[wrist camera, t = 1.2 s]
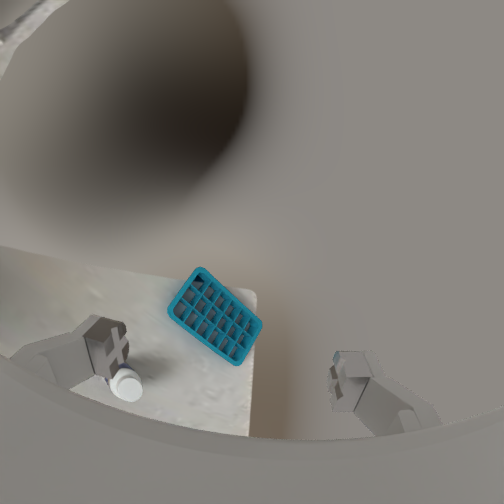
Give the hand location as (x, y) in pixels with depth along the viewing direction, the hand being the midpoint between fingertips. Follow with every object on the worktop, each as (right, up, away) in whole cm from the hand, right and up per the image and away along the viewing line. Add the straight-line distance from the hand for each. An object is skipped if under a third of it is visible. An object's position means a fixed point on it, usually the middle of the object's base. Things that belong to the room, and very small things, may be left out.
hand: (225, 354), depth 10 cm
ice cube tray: (-7, -10, +47) cm, 48 cm away
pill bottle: (-23, -18, +32) cm, 43 cm away
